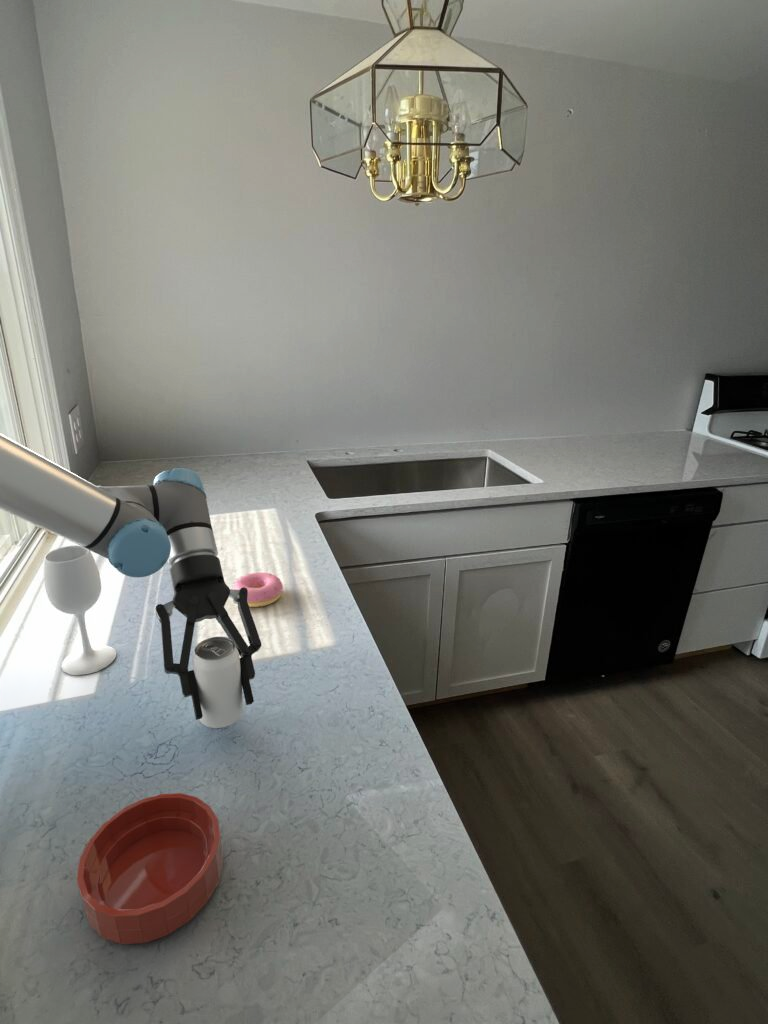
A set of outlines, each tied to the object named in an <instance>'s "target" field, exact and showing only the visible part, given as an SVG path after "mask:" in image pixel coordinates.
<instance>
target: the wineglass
mask: <svg viewBox="0 0 768 1024" xmlns="http://www.w3.org/2000/svg"><path fill="white" fill-rule="evenodd" d="M43 583H44V589H45V592H46V596H47V598H48V601H49V602H50V604H51V605H52V607H54V608H55V609H56V610H58V611H60V612H61V613H64V614H68V615H73V616H74V617H75V618H76V620H77V623H78V627H79V631H80V632H79V633H80V637H81V644H82V647H81V648H79V649H76V650H75V651H73V652H71V653H70V654H68V655H67V656H66V657H65V658H64V660H63V661H62V662H61V670H62V671H63V672H64V673H66V674H68V675H72V676H83V675H89V674H93V673H96V672H99V671H101V670H103V669H105V668H106V667H108V666H109V665H111V664H112V663H113V662H114V660H115V659H116V656H117V651H116V649H115V648H114V647H112V646H110V645H106V644H92V645H91V642H90V639H89V636H88V631H87V626H86V618H85V617H86V612H87V611H88V610H90V609H91V608H92V607H94V605H96V603H97V602H98V600H99V598H100V596H101V592H102V581H101V575H100V571H99V568H98V565H97V563H96V560H95V558H94V556H93V553H92V551H90V550H88V549H87V548H85V547H82V546H80V545H66V546H61V547H57V548H56V549H53V550H51V551H49V552H47V553H46V555H45V556H44V557H43Z"/></svg>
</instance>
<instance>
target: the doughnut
mask: <svg viewBox="0 0 768 1024" xmlns="http://www.w3.org/2000/svg"><path fill="white" fill-rule="evenodd" d="M243 587H244V588H247V590H248V595H247V602H248V605H249V608H259V606H260V607H265V606H268V605H272V604H273V603H274V602H276V601H278V599H280V597H281V596H282V594H283V590H284V585H283V582H282V581H281V578H279V577H278V576H277V575H275V574H272V573H268V572H253V573H246V574H245V575H243V576H240V577H239V578H236V580H235V581H234V582H233V585H232V587H231V589H237V590H240V589H241V588H243Z"/></svg>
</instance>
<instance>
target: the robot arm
mask: <svg viewBox="0 0 768 1024" xmlns="http://www.w3.org/2000/svg"><path fill="white" fill-rule="evenodd" d="M208 506H209V505H208V500H207V493H206V492H205V487H204V486H203V483H202V479H201V477H200V475H199V474H198V473H197V472H196V471H195V470H193V469H190V468H186V467H185V468H184V467H175V468H173V469H171V470H170V469H167V470H164V471H162V472H160V473H157V475H156V476H155V477H154V480H153V484H151V485H150V484H149V485H114V486H113V485H112V486H102V485H96V484H93V483H92V482H90V481H88V480H86V479H85V478H82V477H81V476H78V475H77V474H76V473H74V472H71V471H70V470H68V469H66V468H64V467H62V466H60V465H59V464H58V463H55V462H53V461H51V460H50V459H48V458H46V457H44V456H42V455H40V454H38V453H37V452H35V451H33V450H31V449H29V448H28V447H26V446H24V445H22V444H21V443H19V442H17V441H15V440H13V439H11V438H9V437H7V436H6V435H4V434H2V433H0V510H2V511H5V512H6V513H9V514H11V515H13V516H15V517H17V518H19V519H21V520H24V521H26V522H28V523H31V524H32V525H35V526H37V527H39V528H41V529H43V530H45V531H47V532H50V533H52V534H55V535H57V536H59V537H61V538H63V539H65V540H68V541H69V542H72V543H74V544H76V545H77V546H82V547H85V548H87V549H88V550H90V552H91V553H92V552H93V553H95V554H97V555H98V556H101V557H104V558H105V559H107V560H108V561H109V562H108V563H110V565H112V567H113V568H115V569H116V570H117V572H119V573H121V574H122V575H124V576H126V577H129V578H144V577H149V576H151V575H153V574H156V573H157V572H159V571H160V570H161V569H162V568H163V567H164V566H165V565H166V563H168V565H169V566H170V568H169V573H170V579H171V583H172V590H173V597H172V600H170V601H168V602H166V603H165V604H163V603H159V604H157V605H156V606H155V615H156V618H157V620H158V621H159V624H160V631H161V644H162V656H163V658H162V659H163V670H164V673H165V674H167V675H177V676H178V677H179V682H180V687H181V694H182V696H183V697H184V698H188V697H191V701H192V707H193V711H194V712H193V713H194V717H195V721H197V720H200V719H201V718H202V717H203V715H202V710H201V705H200V699H199V694H198V689H197V684H196V679H195V674H194V669H191V670H189V662H190V656H191V651H192V644H193V636H194V631H195V625H196V623H200V622H202V621H205V620H214V619H215V620H216V621H217V623H218V624H219V625H220V627H221V628H222V629H223V630H222V631H224V633H225V634H226V636H227V638H230V639H232V640H233V641H234V642H235V647H236V648H237V650H238V652H239V658H240V669H241V681H242V693H243V698H244V701H245V706H249V705H252V704H253V703H254V702H255V700H254V696H253V691H252V685H251V681H250V680H254V678H255V677H256V671H255V667H254V663H253V657H252V655H254V654H255V653H258V652H259V650H260V649H261V648H262V641H261V638H260V635H259V632H258V629H257V626H256V624H255V620H254V617H253V614H252V612H251V607H249V605H248V602H247V595H248V590H247V588H244V587H243V588H241V589H240V590H237V589H232V588H230V587H229V585H227V583H226V582H225V578H224V574H223V573H224V572H223V569H222V564H221V560H220V558H219V557H218V555H219V550H218V547H217V542H216V538H215V534H214V530H213V526H212V520H211V517H210V511H209V507H208ZM229 598H231V599H232V602H233V603H234V604H235V605H237V611H238V613H239V616H240V619H241V622H242V626H243V628H244V631H245V634H246V637H247V641H248V643H249V645H248V644H247V642H246V640H245V639H244V638H243V636H242V635H241V633H240V631H239V630H238V628H237V627H236V625H235V623H234V622H233V620H232V618H231V617H230V615H229V613H228V611H227V610H226V608H225V606H226V603H227V601H228V599H229ZM174 609H175V610H177V611H178V612H179V613H180V614H182V615H183V616H184V617H185V618H186V623H185V628H184V634H183V641H182V647H181V651H180V652H181V653H180V658H179V663H175V662H174V653H173V639H172V630H171V618H172V617H173V610H174Z"/></svg>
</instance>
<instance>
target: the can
mask: <svg viewBox="0 0 768 1024" xmlns="http://www.w3.org/2000/svg"><path fill="white" fill-rule="evenodd" d="M240 658H241V657H240V655H239V652H238V650H237V648H236V647H235V642H234V641H233V640H232V639H230V638H229V637H228V636H227V637H226V636H213V637H212V636H211V637H209V638H206V639H203V640H202V641H200V642H199V643H197V645H196V646H195V648H194V655H193V657H192V668H193V669H192V670H194V674H195V679H196V684H197V689H198V694H199V699H200V705H201V710H202V715H203V717H202V718H201V719H199V721H200V724H202V725H203V726H205V727H207V728H209V729H213V730H222V729H226V728H229V727H231V726H232V725H235V724H236V723H237V722H238V721H239V720H240V719H241V718H242V716H243V714H244V710H245V709H244V692H243V688H242V681H241V669H240Z"/></svg>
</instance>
